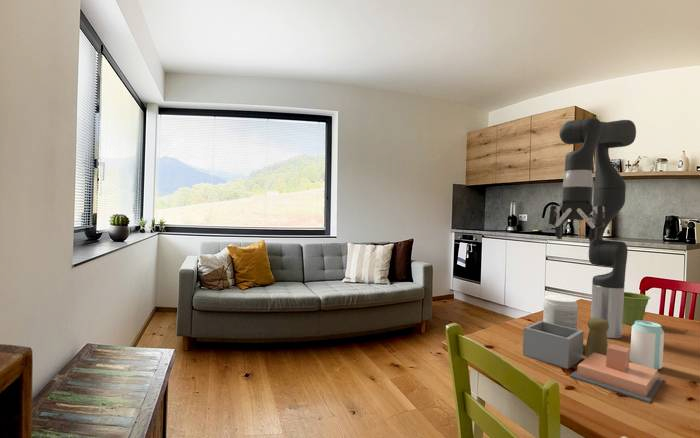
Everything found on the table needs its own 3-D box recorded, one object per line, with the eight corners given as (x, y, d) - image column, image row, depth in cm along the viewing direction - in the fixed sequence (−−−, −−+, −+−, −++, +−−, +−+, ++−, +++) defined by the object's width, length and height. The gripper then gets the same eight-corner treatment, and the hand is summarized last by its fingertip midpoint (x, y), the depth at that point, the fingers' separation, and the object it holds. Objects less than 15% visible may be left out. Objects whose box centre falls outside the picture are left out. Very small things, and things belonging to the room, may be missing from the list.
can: (623, 359, 105) (625, 319, 105) (648, 361, 105) (650, 320, 105) (642, 370, 98) (644, 326, 98) (669, 371, 98) (671, 327, 98)
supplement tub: (582, 345, 116) (584, 299, 116) (567, 351, 111) (569, 303, 111) (551, 336, 124) (553, 293, 124) (536, 340, 119) (538, 296, 119)
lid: (593, 361, 102) (594, 334, 102) (657, 379, 92) (658, 350, 92) (577, 374, 93) (578, 345, 93) (645, 396, 83) (647, 364, 83)
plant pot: (611, 316, 151) (612, 290, 151) (647, 322, 144) (649, 294, 144) (611, 323, 142) (612, 294, 142) (650, 330, 135) (651, 300, 135)
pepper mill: (579, 351, 111) (581, 315, 110) (598, 351, 111) (600, 316, 111) (594, 359, 105) (596, 322, 104) (614, 359, 105) (616, 322, 105)
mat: (591, 359, 105) (591, 358, 105) (663, 380, 93) (663, 378, 93) (569, 376, 93) (569, 375, 93) (649, 403, 81) (649, 401, 81)
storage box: (539, 345, 114) (540, 320, 114) (582, 358, 105) (583, 330, 105) (522, 354, 107) (523, 327, 106) (567, 368, 98) (569, 339, 97)
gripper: (609, 186, 106) (606, 241, 106) (556, 187, 116) (554, 238, 117) (602, 184, 101) (599, 242, 101) (547, 186, 112) (544, 238, 112)
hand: (575, 240), depth 109 cm, fingers open, 8 cm apart
